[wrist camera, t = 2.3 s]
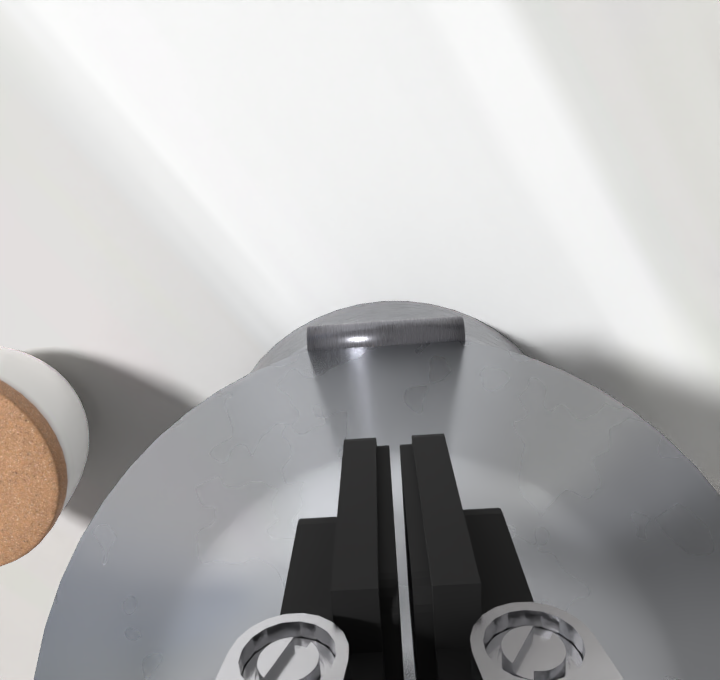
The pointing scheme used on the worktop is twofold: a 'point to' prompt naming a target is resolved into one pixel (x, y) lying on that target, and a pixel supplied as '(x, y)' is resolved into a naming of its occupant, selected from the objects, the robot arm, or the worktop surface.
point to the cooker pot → (385, 312)
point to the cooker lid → (321, 493)
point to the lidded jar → (36, 450)
